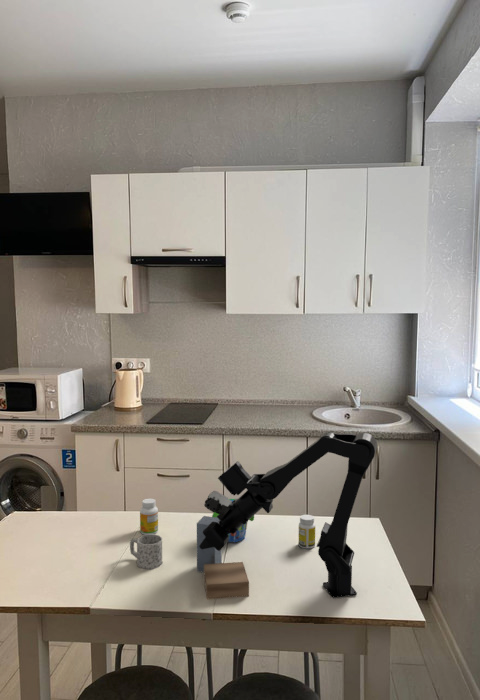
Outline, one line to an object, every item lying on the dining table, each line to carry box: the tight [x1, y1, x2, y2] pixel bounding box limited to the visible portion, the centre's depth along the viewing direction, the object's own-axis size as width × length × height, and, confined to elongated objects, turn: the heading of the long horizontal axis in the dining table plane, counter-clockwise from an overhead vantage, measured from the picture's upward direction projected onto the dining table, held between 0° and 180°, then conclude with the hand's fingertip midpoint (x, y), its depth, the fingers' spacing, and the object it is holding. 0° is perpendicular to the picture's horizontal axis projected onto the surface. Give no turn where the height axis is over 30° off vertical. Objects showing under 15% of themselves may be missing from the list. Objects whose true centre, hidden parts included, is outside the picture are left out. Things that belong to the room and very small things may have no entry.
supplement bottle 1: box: [139, 498, 159, 535], centre depth 169 cm, size 5×5×10 cm
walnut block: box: [203, 561, 250, 600], centre depth 138 cm, size 10×10×4 cm
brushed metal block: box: [196, 515, 223, 573], centre depth 147 cm, size 5×5×13 cm
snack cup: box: [211, 498, 255, 543], centre depth 165 cm, size 16×10×10 cm
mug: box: [129, 533, 163, 570], centre depth 150 cm, size 10×7×7 cm, turn 59°
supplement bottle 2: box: [298, 514, 316, 550], centre depth 161 cm, size 5×5×8 cm
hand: (204, 543), depth 147 cm, fingers closed on brushed metal block, 5 cm apart
